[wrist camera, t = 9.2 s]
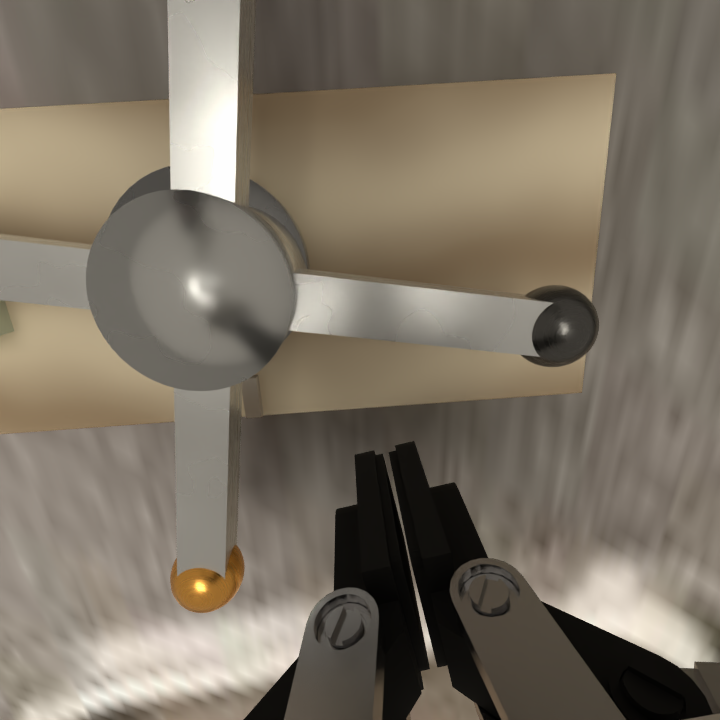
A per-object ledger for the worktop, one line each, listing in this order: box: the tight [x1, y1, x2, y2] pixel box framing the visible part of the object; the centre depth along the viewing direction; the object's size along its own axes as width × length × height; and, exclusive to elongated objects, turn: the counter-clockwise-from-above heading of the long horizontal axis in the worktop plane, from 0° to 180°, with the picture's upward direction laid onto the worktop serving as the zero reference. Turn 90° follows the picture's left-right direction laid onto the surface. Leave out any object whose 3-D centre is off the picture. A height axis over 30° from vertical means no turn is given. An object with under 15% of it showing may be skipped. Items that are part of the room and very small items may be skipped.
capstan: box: [0, 0, 599, 613], centre depth 12 cm, size 20×20×5 cm
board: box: [0, 73, 616, 434], centre depth 14 cm, size 11×25×4 cm, turn 93°
